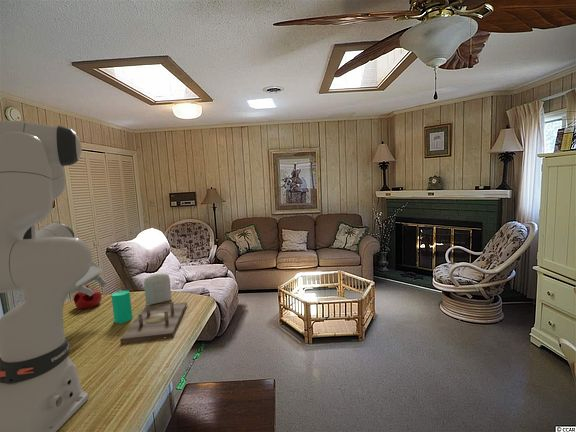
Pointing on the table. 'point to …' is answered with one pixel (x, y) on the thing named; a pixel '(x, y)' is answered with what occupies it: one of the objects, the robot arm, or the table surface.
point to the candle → (121, 306)
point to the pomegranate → (87, 299)
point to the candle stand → (155, 322)
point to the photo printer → (157, 288)
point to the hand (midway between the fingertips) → (99, 289)
